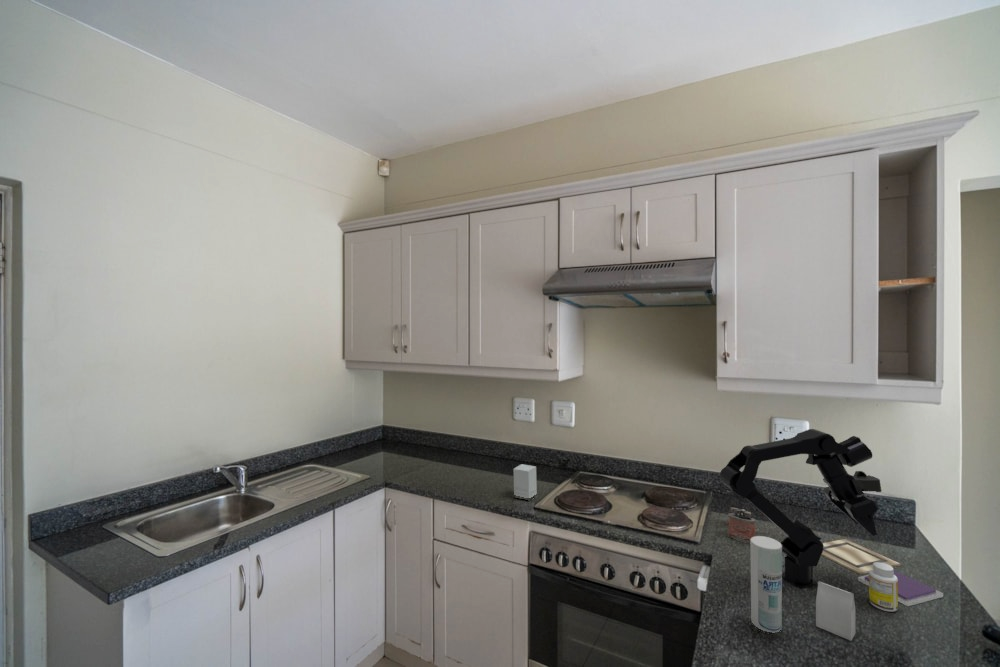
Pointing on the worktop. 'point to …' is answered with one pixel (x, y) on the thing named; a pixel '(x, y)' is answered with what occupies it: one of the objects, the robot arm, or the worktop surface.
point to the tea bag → (835, 611)
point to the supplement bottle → (883, 587)
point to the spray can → (766, 583)
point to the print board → (854, 556)
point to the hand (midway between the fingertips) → (866, 529)
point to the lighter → (741, 525)
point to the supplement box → (525, 481)
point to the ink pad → (910, 590)
